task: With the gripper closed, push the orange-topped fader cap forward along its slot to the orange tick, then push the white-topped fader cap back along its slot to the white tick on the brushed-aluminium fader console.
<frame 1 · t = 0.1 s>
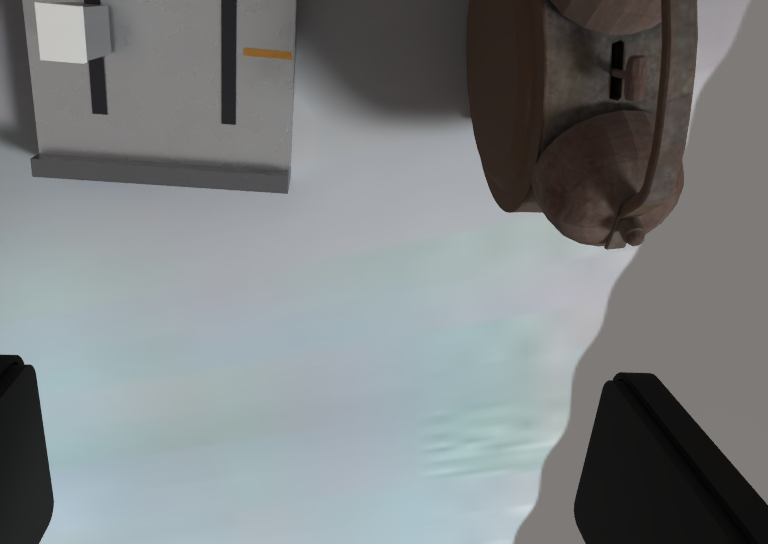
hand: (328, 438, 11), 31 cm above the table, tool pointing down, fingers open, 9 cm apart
fader cap B: (76, 30, 32), point 5 cm above the table, slide at 13.0 cm
alarm clock: (516, 46, 39), on the table
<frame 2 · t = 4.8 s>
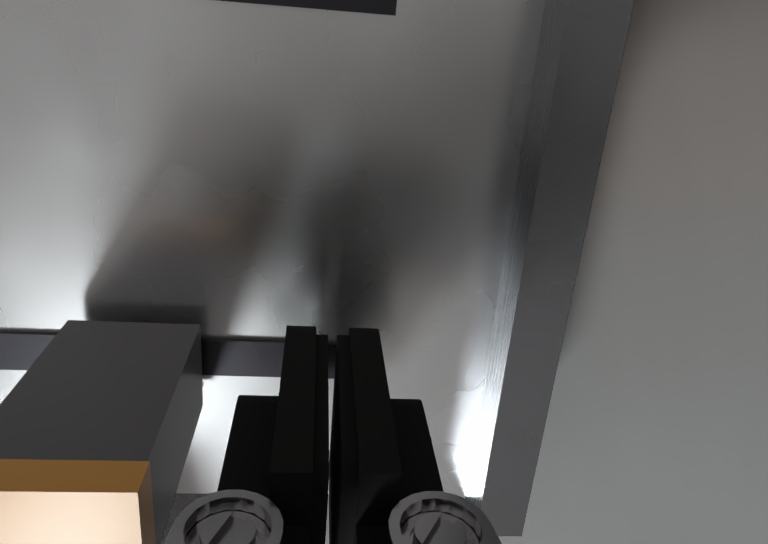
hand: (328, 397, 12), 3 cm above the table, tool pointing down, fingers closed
fader cap A: (99, 438, 10), point 5 cm above the table, slide at 3.0 cm, touching gripper
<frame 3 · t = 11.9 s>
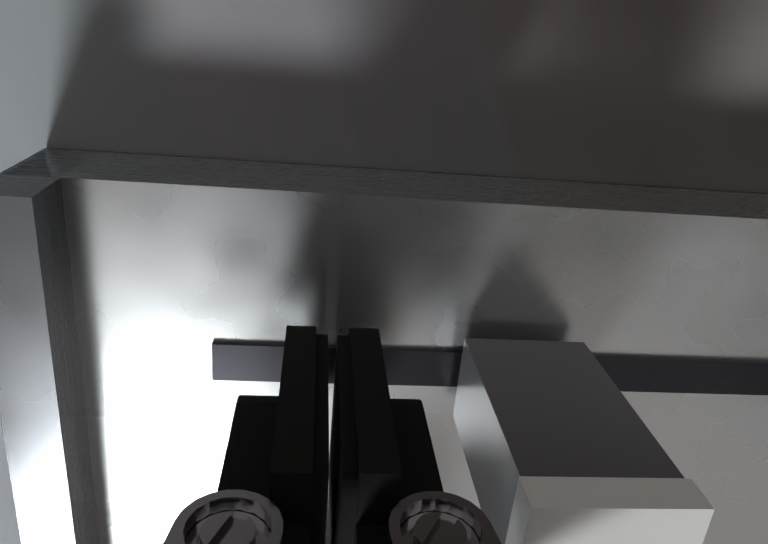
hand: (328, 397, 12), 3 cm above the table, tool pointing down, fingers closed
fader cap B: (554, 453, 11), point 5 cm above the table, slide at 11.5 cm, touching gripper
console: (600, 448, 17), on the table
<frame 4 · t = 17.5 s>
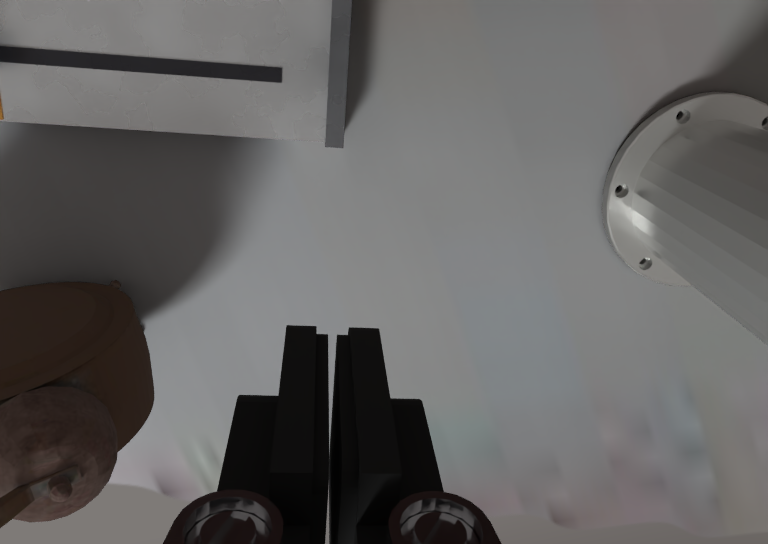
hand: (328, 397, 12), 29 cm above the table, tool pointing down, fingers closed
alarm clock: (68, 318, 42), on the table
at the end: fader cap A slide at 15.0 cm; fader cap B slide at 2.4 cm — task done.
